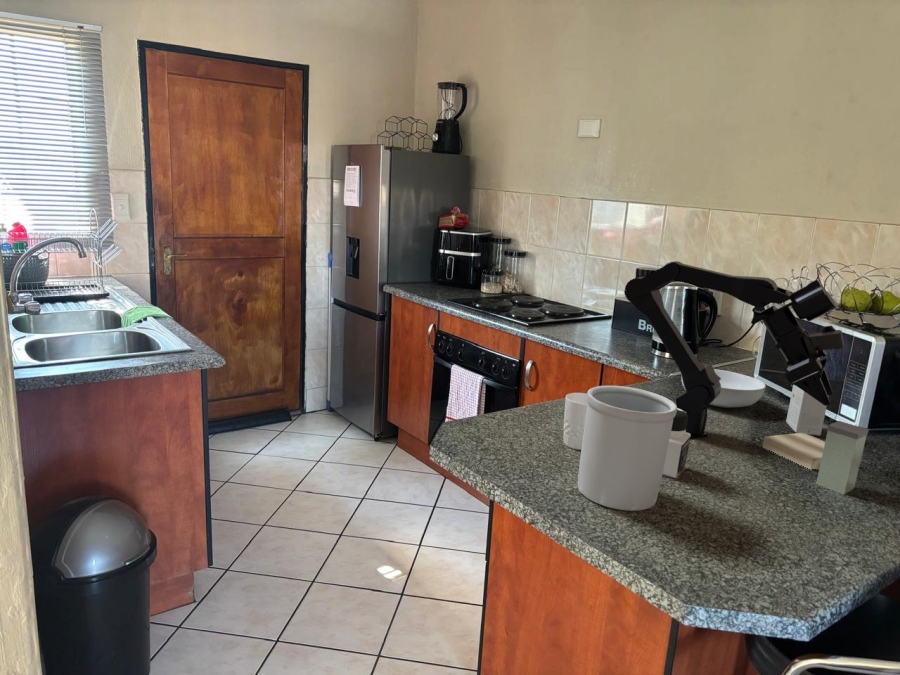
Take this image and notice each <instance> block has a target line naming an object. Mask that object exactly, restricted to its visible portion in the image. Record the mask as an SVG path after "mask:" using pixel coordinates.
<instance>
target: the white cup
mask: <svg viewBox="0 0 900 675" xmlns="http://www.w3.org/2000/svg"><path fill="white" fill-rule="evenodd" d="M564 402H565V403H564V416H563V435H562V436H563V437H562V442H563V444H564V445H565V446H566V447H568V448H571V449H573V450H578V451H581V449H582V442H583V434H584V426H585V419H586V411H587V404H588V402H587V393H586V392H585V393H584V392H572V393H570V392H569V393H568V394H566V395H565V399H564Z"/></svg>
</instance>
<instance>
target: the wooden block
mask: <svg viewBox="0 0 900 675" xmlns="http://www.w3.org/2000/svg"><path fill="white" fill-rule="evenodd" d="M825 441H826V440H822V439H819V438H817V437H815V436H814V435H810V434H805V433H796V432H795V433H786V434H777V435H776V434H775V435H768V436H767V435H765V436H763V441H762V442H763V443H762V448H763V449H765V450H767V451H769V450H770V451H769V452H771V451H772V452H771V453H773V452H774V453H773V454H775V453H776V455H777V454H778V456H780V457H782V456H783V457H782V458H784V457H785V458H784V459H786V460H788V459H789V460H788V461H790V460H791V461H790V462H792V461H793V462H792V463H794V462H795V463H794V464H796V463H797V464H796V465H798V464H799V466H801V465H802V466H801V467H803V466H804V467H803V468H805V467H806V468H805V469H807V468H808V469H807V470H809V469H810V471H813V470H812V469H816V470H819V468H820V464H821V459H822V455H823V450H824V446H825Z"/></svg>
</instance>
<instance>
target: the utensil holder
mask: <svg viewBox="0 0 900 675" xmlns="http://www.w3.org/2000/svg"><path fill="white" fill-rule="evenodd" d="M586 394H587V402H588V404H587V411H586V419H585V426H584V434H583V442H582V449H581V450H580V458H579V468H578V476H577V489H578V491H579V492H580V493H581V494H582V495H583V496H584V497H585V498H586V499H588V500H590V501H592V502H594V503H596V504H598V505H600V506H603V507H607V508H609V509H615V510H618V511H619V510H621V511H630V512H632V511H633V512H634V511H635V512H637V511H645V510H648V509H650V508H652V507H653V506H654V505H656V503H657V499H658V496H659V491H660V486H661V482H662V478H663V470H664V464H665V459H666V454H667V449H668V444H669V439H670V434H671V429H672V423H673V418H674V417H675V415H676V412H677V405H676V402H674V401H672V400H670V399H669V398H667V397H665V396H663V395H660V394H658V393H655V392H651V391H648V390H645V389H641V388H636V387H630V386H622V385H621V386H620V385H598V386H594V387H591V388H589V389H588V390H587V393H586Z"/></svg>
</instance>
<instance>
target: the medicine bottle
mask: <svg viewBox="0 0 900 675" xmlns="http://www.w3.org/2000/svg"><path fill="white" fill-rule="evenodd" d="M687 420H688V415H687V413H686V412H684V411H683V410H681V409H678V408H677V412H676V415H675V417H674V418H673V423H672V429H671V434H670V439H669V444H668V449H667V454H666V459H665V464H664V470H663V474H662V476H665V477H666V476H667V477H670V478H673V479H677V478H678V477H679V476H680V475H681V473H682V472H683V470H684V469H685V468H686V464H687V460H688V453H689V449H690V448H689V447H690V443H691V441H690V440H691V438H692V437H691V434H690V433H686V426H687ZM690 437H691V438H690Z"/></svg>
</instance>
